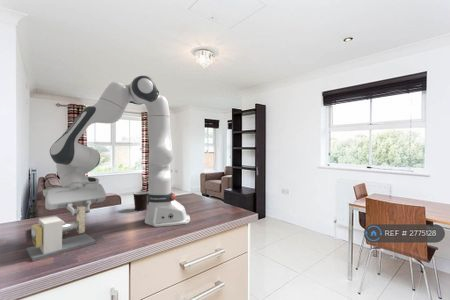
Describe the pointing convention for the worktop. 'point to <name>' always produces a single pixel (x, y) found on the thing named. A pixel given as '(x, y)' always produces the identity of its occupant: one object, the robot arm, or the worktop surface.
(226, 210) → the worktop surface
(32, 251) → the bearing housing
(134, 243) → the worktop surface
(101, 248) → the worktop surface
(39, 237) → the brass collar
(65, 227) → the shaft
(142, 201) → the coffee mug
